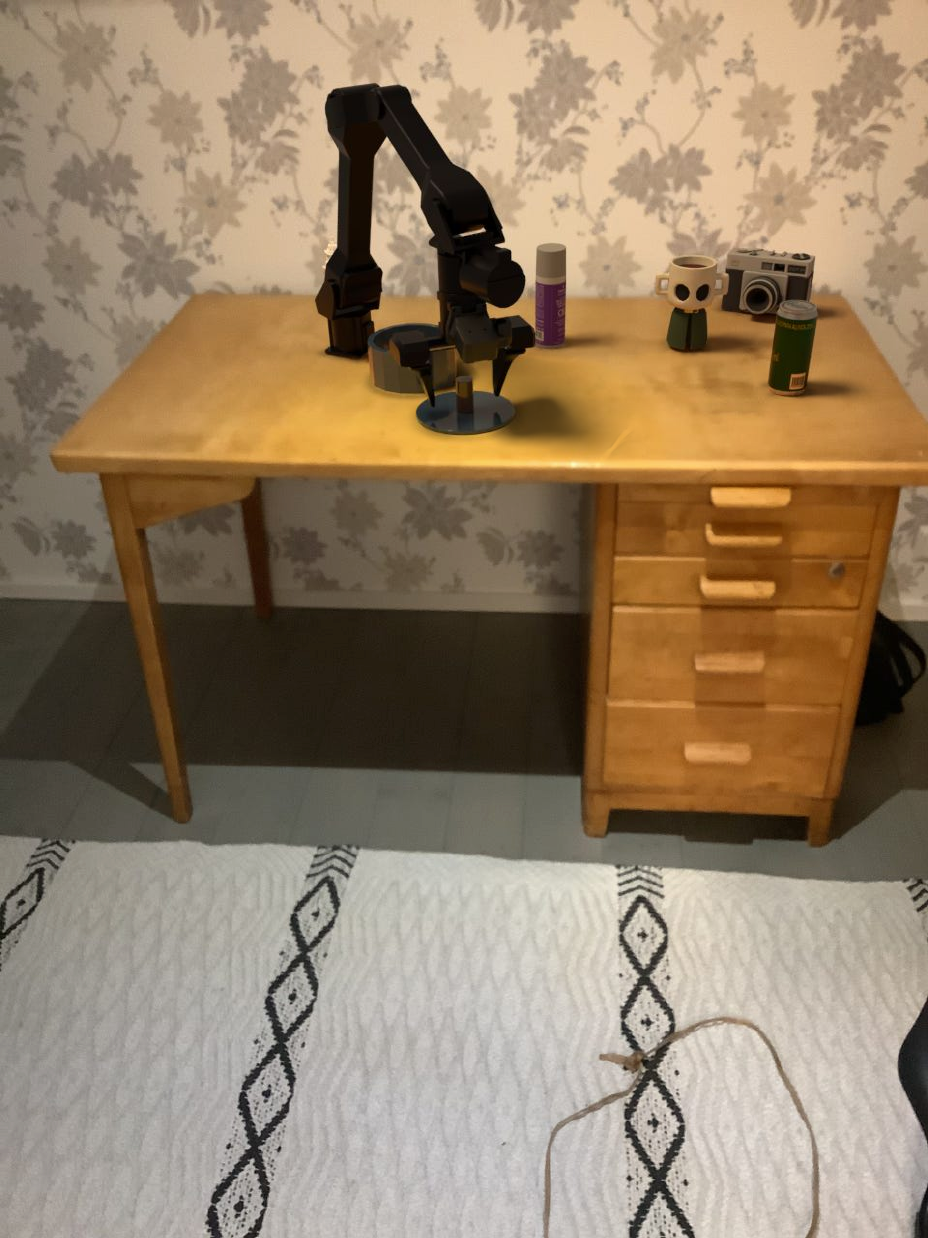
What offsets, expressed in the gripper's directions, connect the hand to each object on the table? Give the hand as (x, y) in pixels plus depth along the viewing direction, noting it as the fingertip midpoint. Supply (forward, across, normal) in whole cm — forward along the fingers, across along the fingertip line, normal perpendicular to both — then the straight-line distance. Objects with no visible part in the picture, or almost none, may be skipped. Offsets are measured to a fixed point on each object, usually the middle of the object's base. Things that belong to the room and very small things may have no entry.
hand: (464, 400), depth 149 cm
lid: (+2, 0, 0) cm, 2 cm away
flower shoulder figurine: (+3, -6, +51) cm, 51 cm away
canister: (+2, -3, +16) cm, 16 cm away
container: (+3, +21, +21) cm, 30 cm away
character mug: (+3, +40, +12) cm, 42 cm away
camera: (+3, +58, +20) cm, 61 cm away
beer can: (+3, +45, -8) cm, 46 cm away
